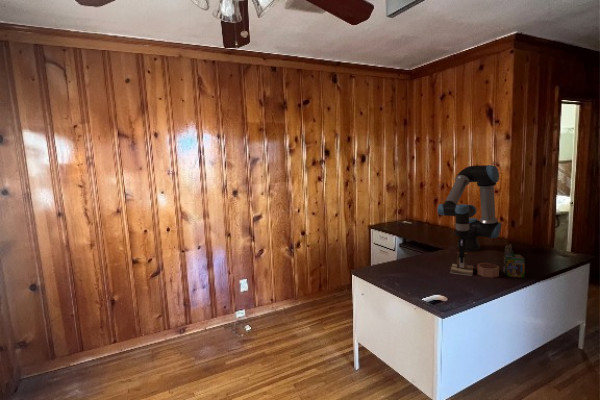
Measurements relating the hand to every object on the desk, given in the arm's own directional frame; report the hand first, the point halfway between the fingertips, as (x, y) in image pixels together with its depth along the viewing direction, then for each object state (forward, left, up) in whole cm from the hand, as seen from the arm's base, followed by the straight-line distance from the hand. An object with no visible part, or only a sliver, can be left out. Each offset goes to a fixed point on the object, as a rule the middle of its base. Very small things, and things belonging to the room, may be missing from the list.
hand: (462, 266), depth 198 cm
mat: (0, 0, -3) cm, 3 cm away
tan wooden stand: (0, 0, -2) cm, 2 cm away
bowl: (0, +14, -3) cm, 14 cm away
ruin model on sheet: (-43, +26, -4) cm, 50 cm away
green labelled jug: (-5, +27, -4) cm, 28 cm away
